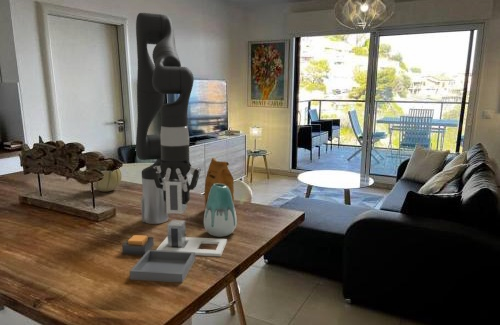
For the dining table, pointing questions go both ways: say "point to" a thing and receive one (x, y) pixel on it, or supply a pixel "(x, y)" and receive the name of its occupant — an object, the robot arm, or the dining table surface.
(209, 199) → the vase
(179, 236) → the block
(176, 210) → the block
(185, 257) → the tray
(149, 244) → the button housing
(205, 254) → the white slotted plate
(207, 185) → the coffee package
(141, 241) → the button
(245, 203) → the dining table surface
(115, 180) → the cantaloupe
